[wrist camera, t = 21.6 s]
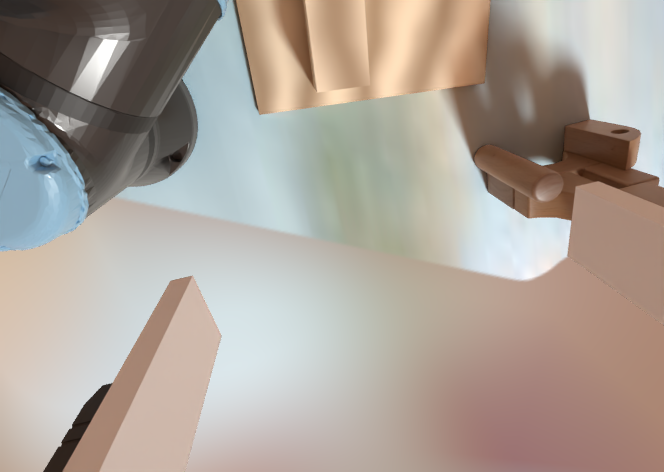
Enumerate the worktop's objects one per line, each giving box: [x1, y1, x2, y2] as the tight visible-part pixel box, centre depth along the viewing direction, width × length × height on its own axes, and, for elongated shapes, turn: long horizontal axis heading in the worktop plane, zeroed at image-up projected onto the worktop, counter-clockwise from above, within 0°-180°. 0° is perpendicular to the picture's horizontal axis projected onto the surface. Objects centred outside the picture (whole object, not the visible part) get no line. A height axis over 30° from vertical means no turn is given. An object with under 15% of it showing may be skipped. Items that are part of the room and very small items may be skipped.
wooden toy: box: [474, 120, 664, 221], centre depth 35 cm, size 16×7×25 cm, turn 104°
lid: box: [236, 0, 490, 115], centre depth 34 cm, size 26×16×8 cm, turn 97°
